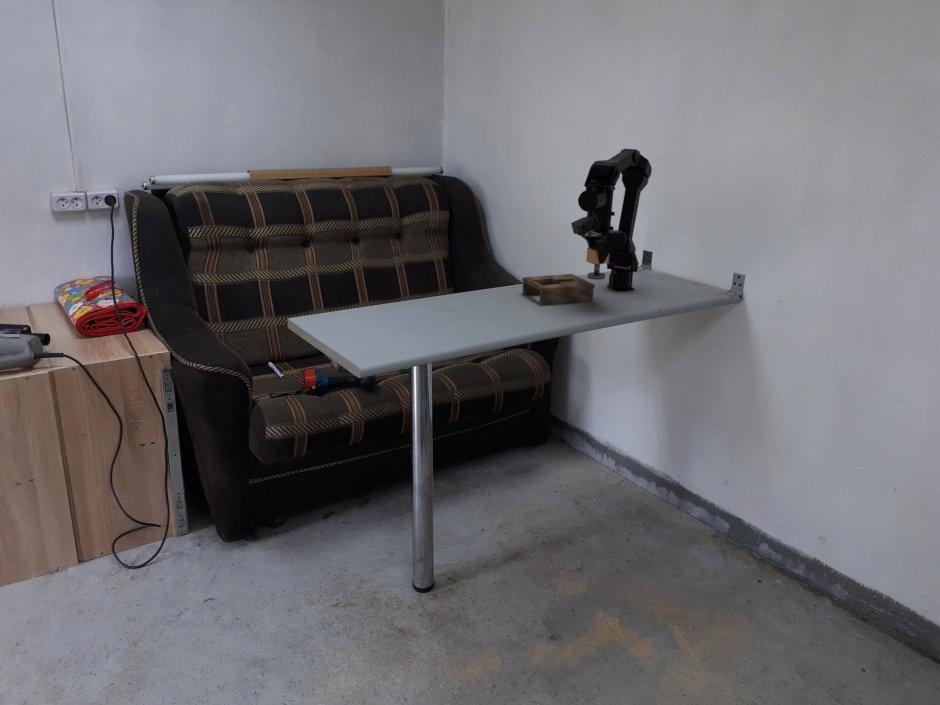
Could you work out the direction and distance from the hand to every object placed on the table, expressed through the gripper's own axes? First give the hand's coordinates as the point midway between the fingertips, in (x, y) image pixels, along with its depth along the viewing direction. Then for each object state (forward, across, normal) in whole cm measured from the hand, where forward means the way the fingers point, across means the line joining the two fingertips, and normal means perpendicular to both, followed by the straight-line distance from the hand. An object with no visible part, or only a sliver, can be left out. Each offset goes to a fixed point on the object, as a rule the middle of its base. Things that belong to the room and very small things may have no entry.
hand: (597, 262), depth 207 cm
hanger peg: (+4, 0, 0) cm, 4 cm away
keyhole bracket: (+12, -9, -7) cm, 16 cm away
